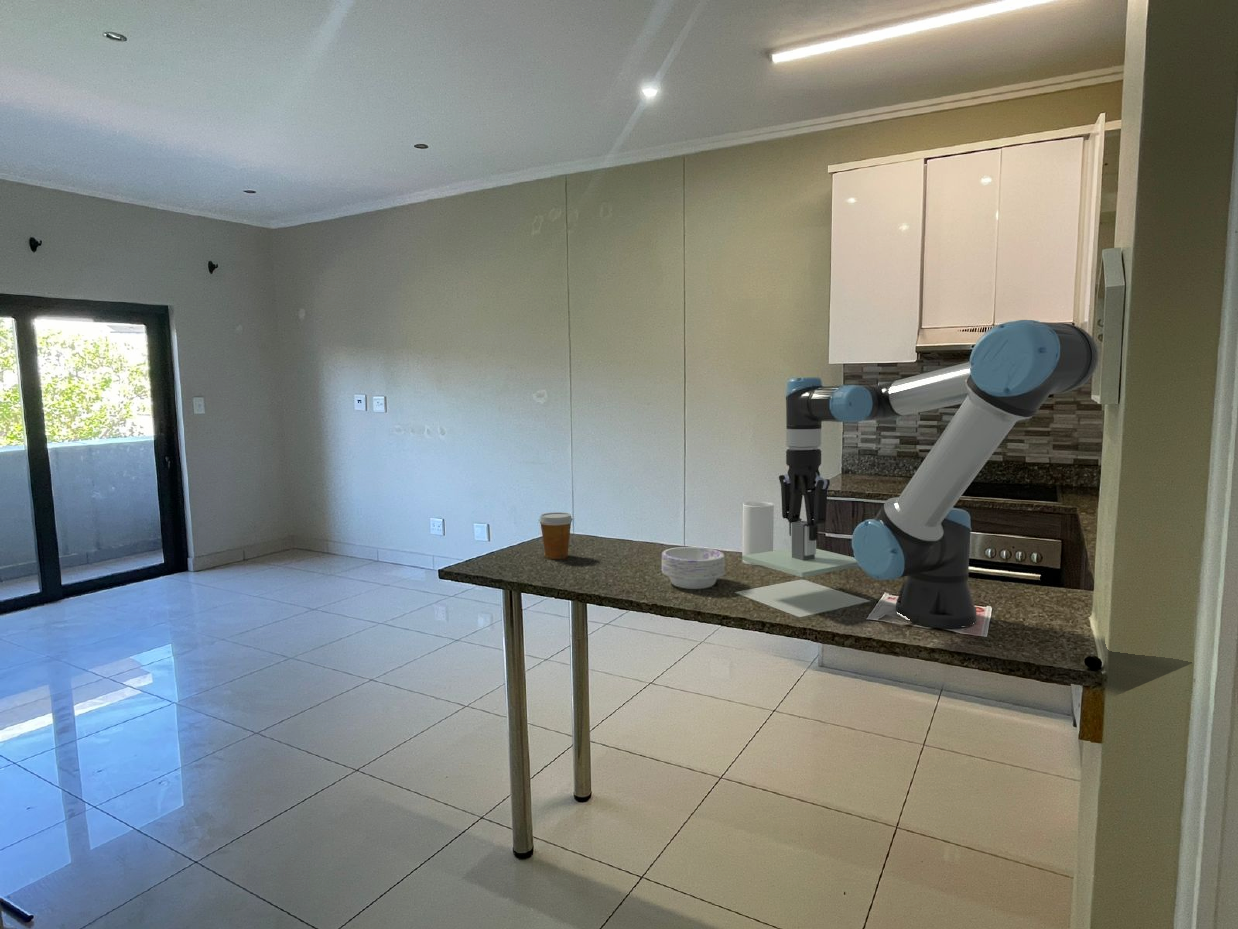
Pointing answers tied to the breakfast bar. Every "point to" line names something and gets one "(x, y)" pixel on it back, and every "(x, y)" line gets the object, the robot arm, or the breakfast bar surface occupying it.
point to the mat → (802, 597)
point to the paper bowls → (693, 566)
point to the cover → (801, 557)
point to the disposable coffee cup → (556, 534)
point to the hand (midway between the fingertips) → (803, 552)
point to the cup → (757, 528)
